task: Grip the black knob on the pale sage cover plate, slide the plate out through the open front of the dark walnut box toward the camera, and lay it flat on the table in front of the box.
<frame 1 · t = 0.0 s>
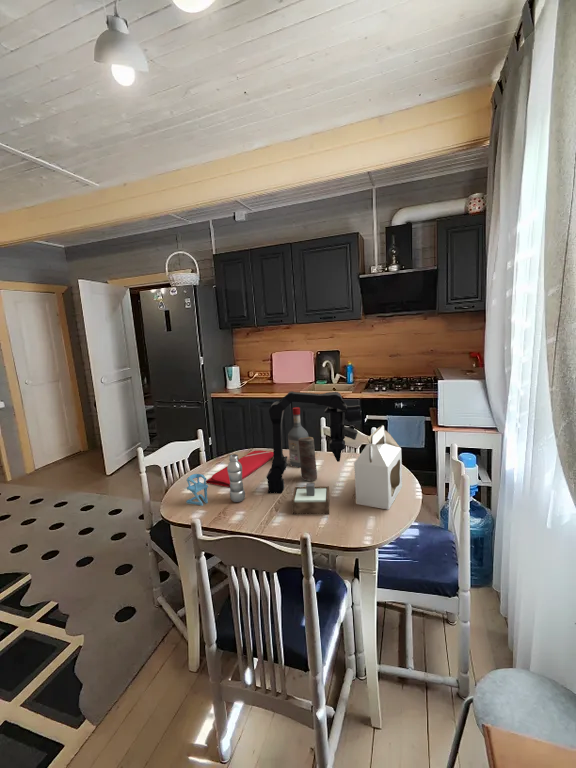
hand: (338, 457, 162), 15 cm above the table, tool pointing down, fingers open, 9 cm apart
liquor: (300, 464, 197), on the table
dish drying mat: (243, 470, 196), on the table
gable box: (380, 495, 157), on the table
rusty brown cylinder: (309, 478, 178), on the table
plastic bottle: (238, 500, 162), on the table
cover plate: (310, 496, 150), point 5 cm above the table, touching walnut box
chair: (199, 502, 163), on the table
walnut box: (311, 507, 151), on the table
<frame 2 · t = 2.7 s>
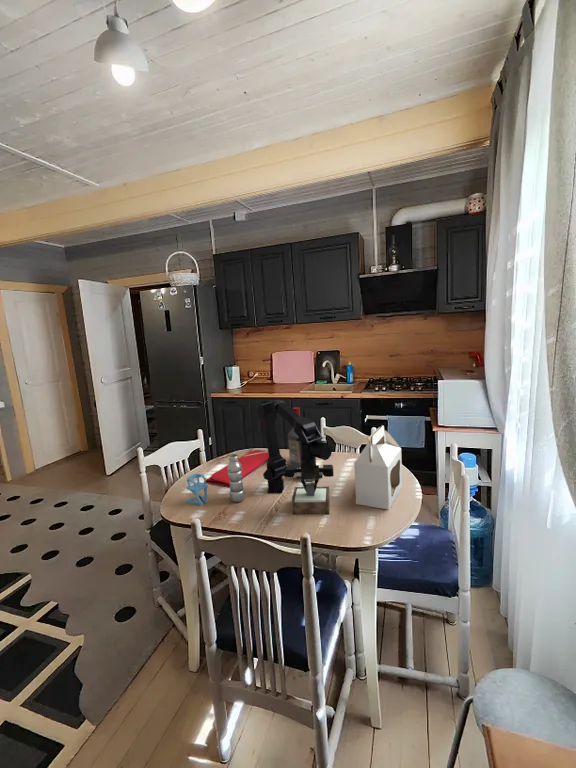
hand: (310, 491, 150), 7 cm above the table, tool pointing down, fingers closed on cover plate, 3 cm apart
cover plate: (310, 496, 150), point 5 cm above the table, touching gripper, walnut box
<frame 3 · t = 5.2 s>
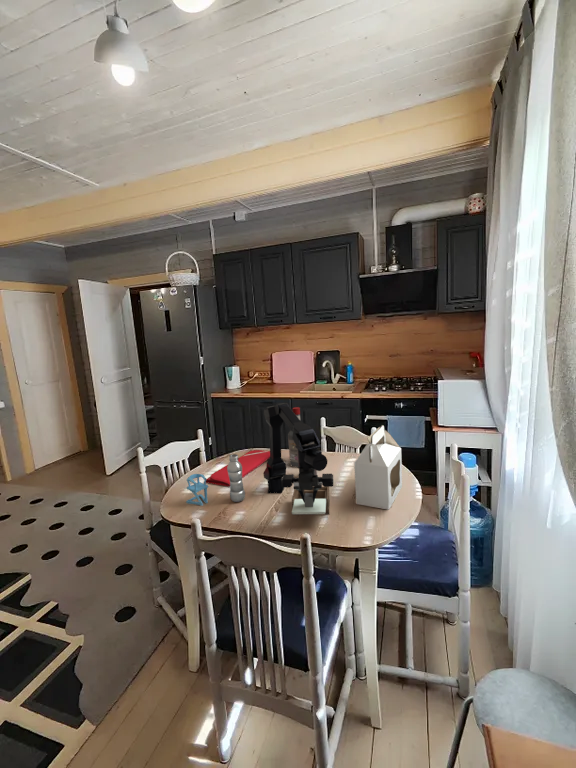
hand: (309, 502, 140), 7 cm above the table, tool pointing down, fingers closed on cover plate, 3 cm apart
cover plate: (309, 507, 140), point 5 cm above the table, touching gripper
when the fingers open (3 cm above the table, at t = 7.8 s): cover plate drops 2 cm, on the table.
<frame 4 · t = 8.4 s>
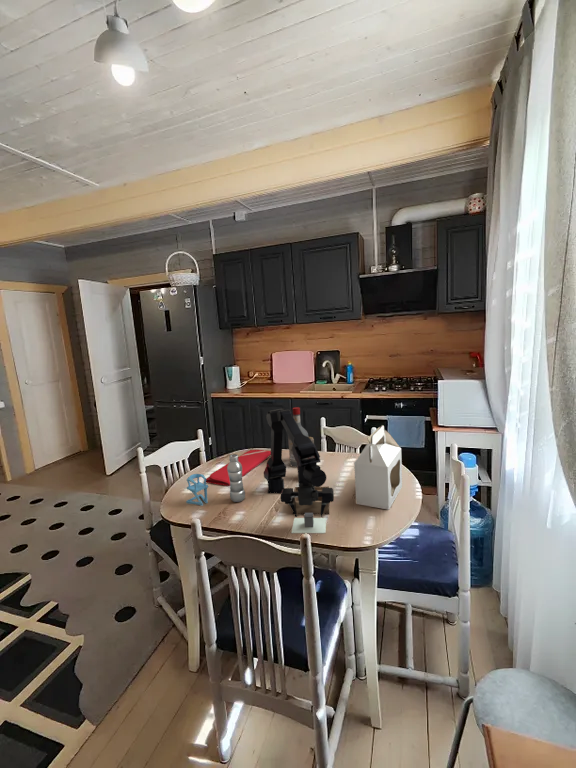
hand: (308, 516, 137), 3 cm above the table, tool pointing down, fingers open, 9 cm apart
cover plate: (309, 527, 138), on the table
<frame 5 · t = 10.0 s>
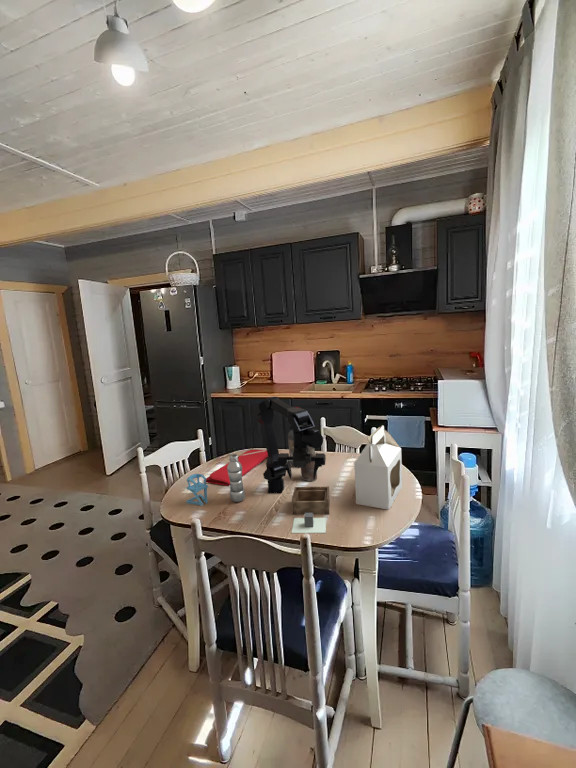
hand: (302, 479, 151), 11 cm above the table, tool pointing down, fingers open, 9 cm apart
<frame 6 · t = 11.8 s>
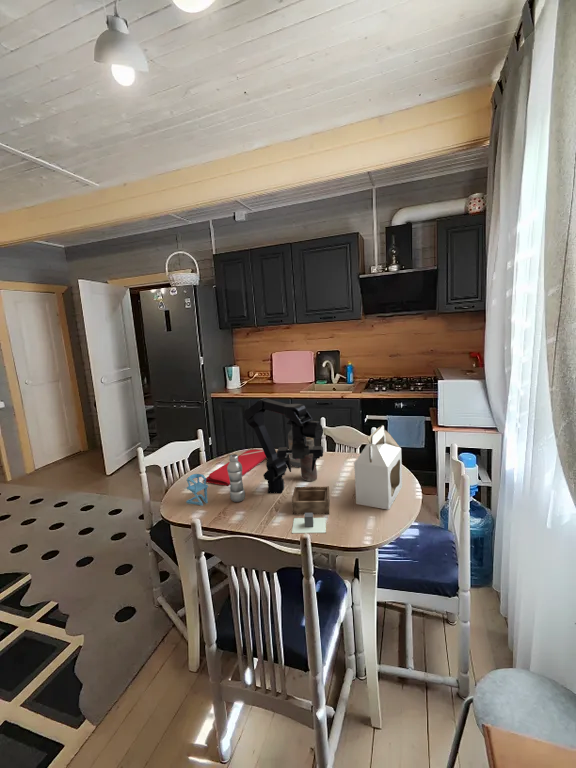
hand: (301, 471, 157), 12 cm above the table, tool pointing down, fingers open, 9 cm apart
at the end: cover plate inside the target area (0.1 cm from its centre), on the table; cover plate tilted 0°; cover plate touching table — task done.
